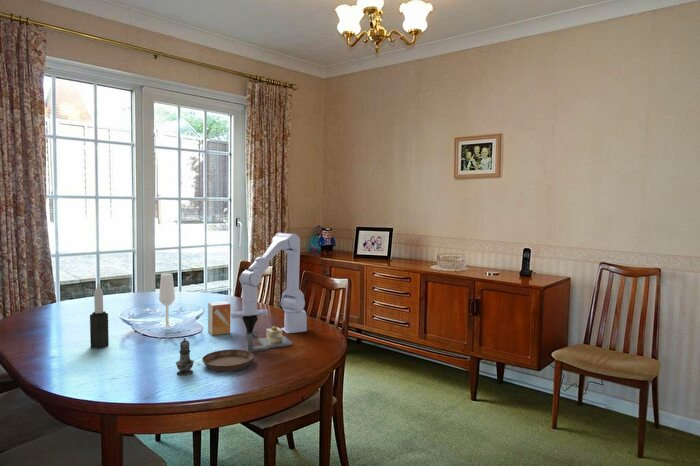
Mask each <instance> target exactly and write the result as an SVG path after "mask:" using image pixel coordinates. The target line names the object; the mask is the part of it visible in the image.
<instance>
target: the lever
mask: <svg viewBox="0 0 700 466" xmlns="http://www.w3.org/2000/svg"><path fill="white" fill-rule="evenodd" d="M252 333H253V340H254V339H255V340H256V339H259V338H258V337H259V333H258V331H257V330H253V332H252Z"/></svg>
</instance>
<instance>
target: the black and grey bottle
mask: <svg viewBox="0 0 700 466" xmlns="http://www.w3.org/2000/svg"><path fill="white" fill-rule="evenodd" d="M93 293H94V294H93V295H94V297H93V298H94V301H93V302H94V311H93V312H92V313H91V314H90V315H89V331H90V335H89V338H90V340H89V342H90V348H91V349H97V350H99V349H103V348H106V347H109V343H110V342H109V341H110V340H109V313H107V312H106V311H105V310H104V292H103V290H102V289H101V285H100V282H97V283H96V289H95V290H94V292H93Z"/></svg>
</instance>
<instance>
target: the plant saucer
mask: <svg viewBox="0 0 700 466" xmlns="http://www.w3.org/2000/svg"><path fill="white" fill-rule="evenodd" d="M253 358H254V353H253V352H249V351H246V349H245V350H244V349H235V348H234V349H221V350H217V351H212V352H209V353H207V354H205V355H204V356H202V358H201V360H202V362H203V363H202V364H204V365H205V367H207V368H208V369H209V370H211V371H215V372H216V371H217V372H232V371H233V372H235V371H238V370H241V369H243V368H246V367H247V366H248V365H250V363H251V362H252V360H253Z"/></svg>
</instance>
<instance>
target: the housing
mask: <svg viewBox="0 0 700 466" xmlns="http://www.w3.org/2000/svg"><path fill="white" fill-rule="evenodd" d="M265 333H266V337H265V338H266V340H268V341H269V342H270V343H274V342H281V341H282V336H283V330H282V329H281V328H280V327H277V326H271V327H269V328H266V332H265Z"/></svg>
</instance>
